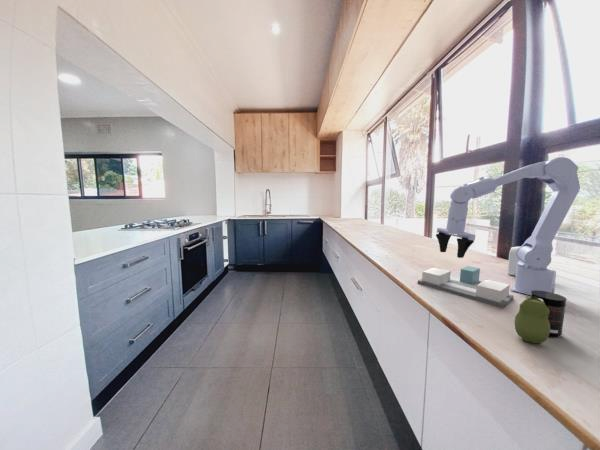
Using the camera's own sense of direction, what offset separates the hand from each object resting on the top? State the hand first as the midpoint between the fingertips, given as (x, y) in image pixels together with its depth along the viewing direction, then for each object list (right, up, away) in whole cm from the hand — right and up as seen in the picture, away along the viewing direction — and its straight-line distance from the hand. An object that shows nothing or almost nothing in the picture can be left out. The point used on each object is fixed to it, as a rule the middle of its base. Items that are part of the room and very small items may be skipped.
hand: (451, 254), depth 90 cm
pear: (-7, -15, -38) cm, 41 cm away
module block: (+7, -10, +1) cm, 13 cm away
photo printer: (+33, -10, +6) cm, 35 cm away
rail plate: (-2, -11, -8) cm, 14 cm away
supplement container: (+1, -14, -34) cm, 37 cm away
